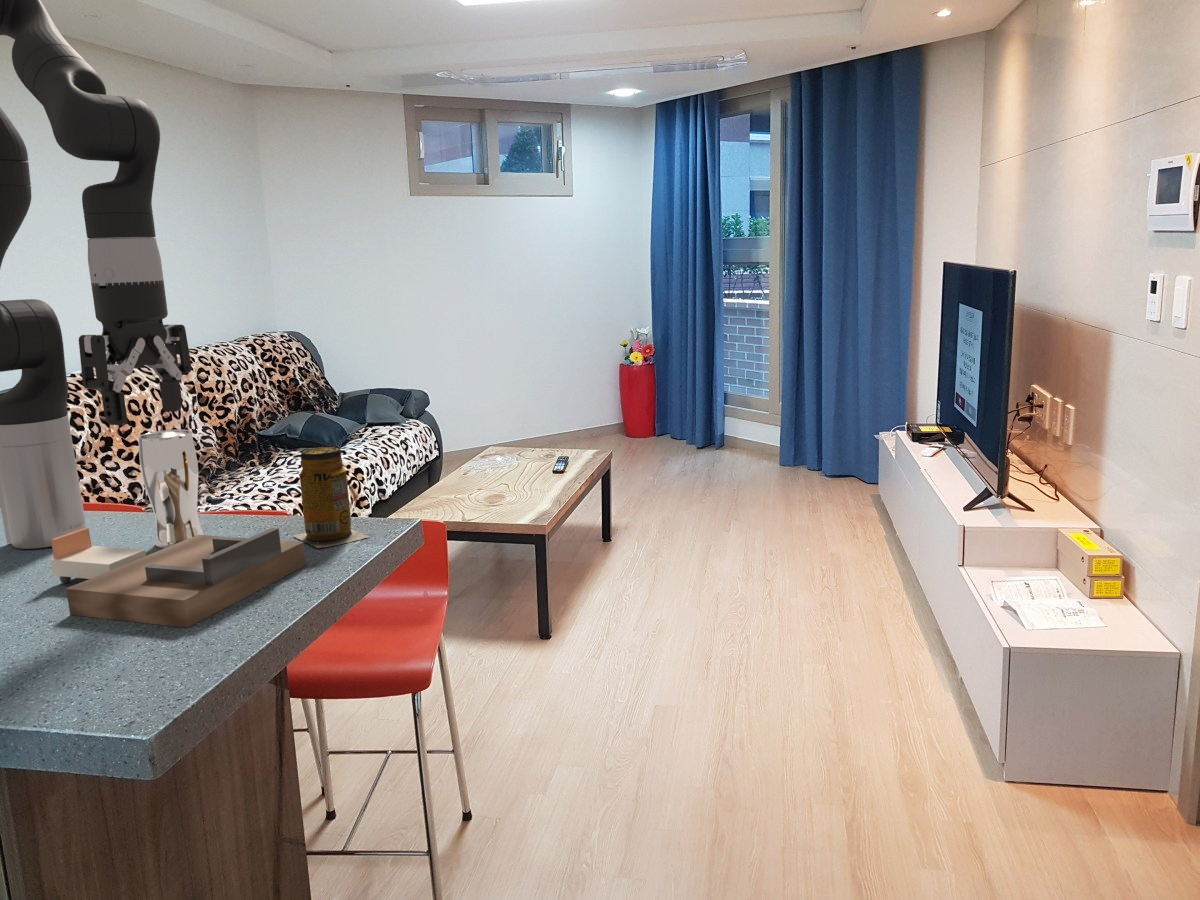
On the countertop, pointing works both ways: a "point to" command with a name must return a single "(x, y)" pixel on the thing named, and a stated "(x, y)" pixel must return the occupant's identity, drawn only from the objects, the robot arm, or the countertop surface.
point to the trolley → (87, 556)
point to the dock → (187, 579)
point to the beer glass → (171, 484)
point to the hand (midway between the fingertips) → (146, 417)
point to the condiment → (325, 499)
